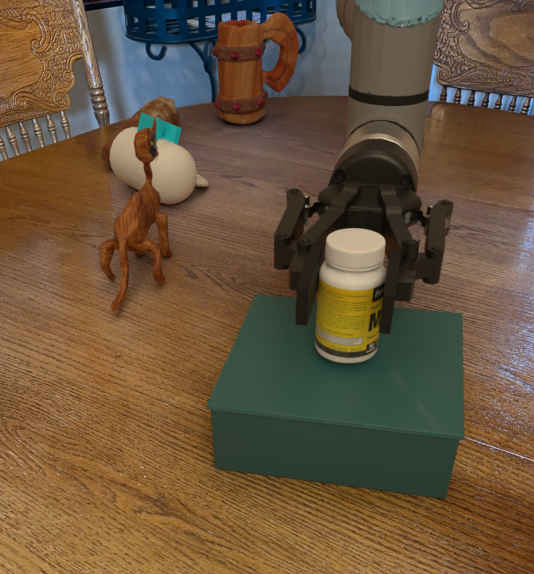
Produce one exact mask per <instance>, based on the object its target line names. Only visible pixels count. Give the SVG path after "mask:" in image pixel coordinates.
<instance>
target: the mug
mask: <svg viewBox="0 0 534 574" xmlns="http://www.w3.org/2000/svg"><path fill="white" fill-rule="evenodd" d="M268 39H269V40H270V41H272V42H273V43H275V44H276V45H278V46H279V52H278V59H277V62H276V63H275V66H274V67H273V68H272V69H271V70H269V71H267V70H263V60H262V57H263V56H264V55H265V50H266V44H265V43H264V41H265V40H268ZM299 47H300V45H299V36H298V32H297V30H296V28H295V25H294V23H293V21H292V20H291V19H290V18H289V16H288V15H286V13H285V14H284V13H283V12H280V11H279V12H278V11H276V12H274V13H272V14H271V15H270V16H269V17H268V18H267V19H266V20H265V22H263V23H259V22H258V21H256V20H251V21H250V19H239V20H238V21H237V20H235V19H229V20H225V21H220V22H219V23H218V24H217V41H216V42H215V44H214V48H213V49H212V50H211V51H212V53H211V54H212V55H213V56H214V57H215V58H216V59H217V73H218V74H217V75H218V93H217V94H216V97H215V98H216V99H215V100H214V102H213V107H215V108H216V109H217V110H219V117H220V119H221V120H224V121H226V122H228V123H230V124H232V125H236V126H237V125H239V126H242V125H243V126H245V125H250V124H253V123H256V122H258V121H260V120H261V118H263V117H264V116H265V114H266V105H267V99H268V98H269V93H268V91H267V90H265V89H264V84H265V85H267V87H269V88H271V89H272V90H273V91H275V92H276V93H281V92H282V91H283V90H284V89H285V88H286V87H287V85H288V84H289V82H290V81H291V79H292V77H293V75H294V74H295V70H296V67H297V63H298V58H299V49H300V48H299Z"/></svg>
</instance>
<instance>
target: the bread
mask: <svg viewBox="0 0 534 574" xmlns="http://www.w3.org/2000/svg"><path fill="white" fill-rule="evenodd" d="M141 112H142V113H145V114H147V115H149V116H152V117H154V118H161V120H162V121H165V122H167V123H170V124H172V125H175V126H178V127H180V121H181V118H180V117H181V116H180V114H179V111H178V109H177V107H176V102H175V101H174V99H172V98H171V97H170V98H169V97H165V96H158V97H156V98H153V99H152V100H150V101H148V102H146V103H145V104H143V105H142V106H141V107H140V109H138V110H137V111H136V112H135V113H134V114H133V115H131V117H129V118H128V119H127V120H126V121H125V122H124V123H123V124H122V126H120V127H119V128H118V129H117V130H115V132H114V133H113V134H112V136H110V137H109V139H108V140H107V141H106V142H105V143H104V145H102V148H101V152H100V156H101V159H102V161H103V162H104V164H105V165H106V166H108V167H109V168H111V163H110V149H111V146H112V144H113V141H114V140H115V138H116V137H117V135H118V134H119V133H121V132H122V131H123V130H125V129H127V128H131V127H138V124H139V120H140V116H141Z"/></svg>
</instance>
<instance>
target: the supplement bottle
mask: <svg viewBox="0 0 534 574" xmlns="http://www.w3.org/2000/svg"><path fill="white" fill-rule="evenodd" d="M385 258H386V253H385V239H384V237H383V236H382V235H380V234H379V233H376V232H374V231H371V230H367V229H359V228H349V229H341V230H337V231H334V232H332V233H331V234H329V235H328V237H327V239H326V249H325V261H324V262H323V263H322V265H321V267H320V270H319V283H318V291H317V299H316V300H317V317H316V333H315V347H316V349H317V351H318V353H319V354H320V355H321V356H323V357H324V358H326V359H328V360H331V361H334V362H338V363H359V362H363V361H366V360H368V359H370V358H371V357H372V356H374V354H375V353H376V351H377V349H378V342H379V335H380V333H379V325H380V317H381V309H382V301H383V293H384V287H385V280H386V274H387V269H386V267H385V266H384V260H385Z"/></svg>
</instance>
